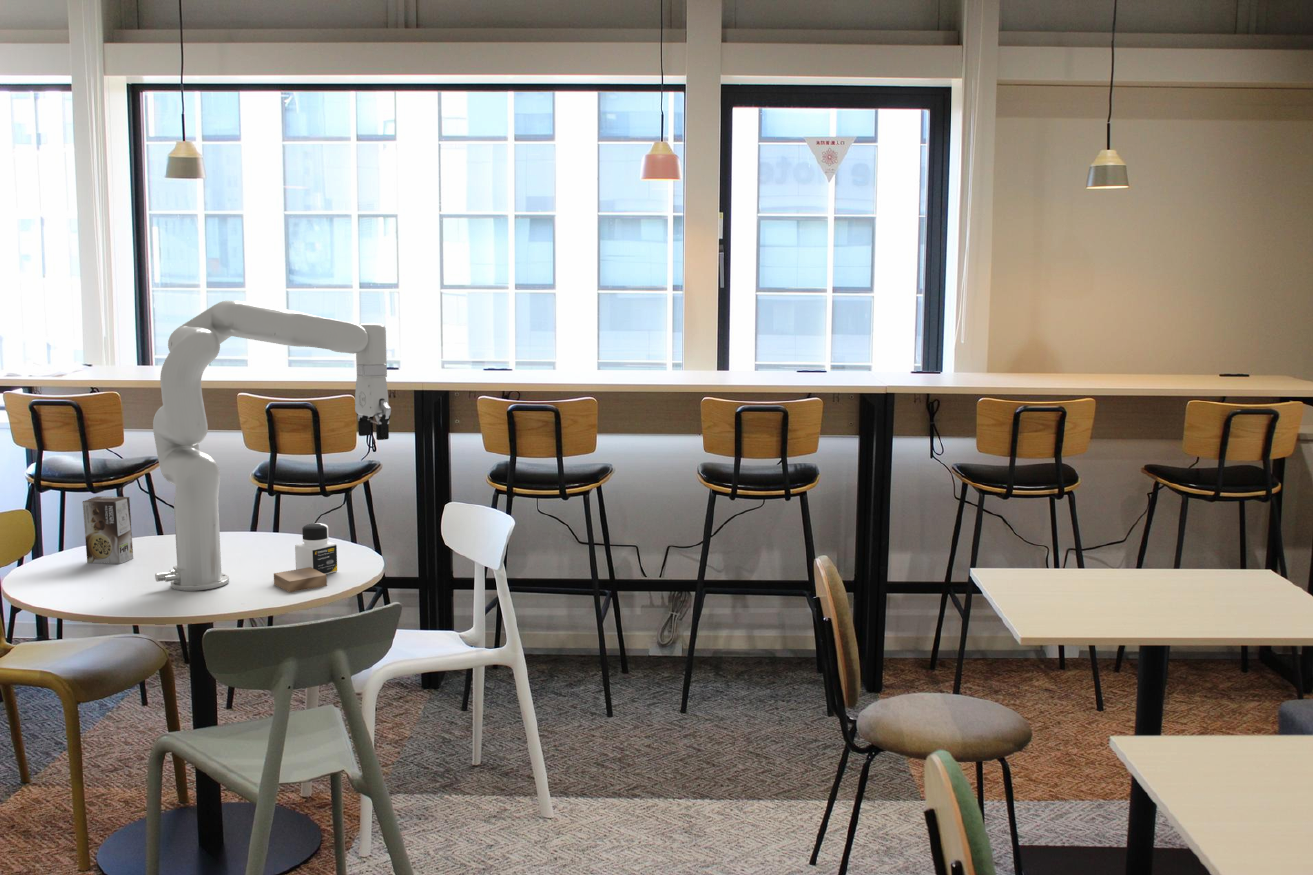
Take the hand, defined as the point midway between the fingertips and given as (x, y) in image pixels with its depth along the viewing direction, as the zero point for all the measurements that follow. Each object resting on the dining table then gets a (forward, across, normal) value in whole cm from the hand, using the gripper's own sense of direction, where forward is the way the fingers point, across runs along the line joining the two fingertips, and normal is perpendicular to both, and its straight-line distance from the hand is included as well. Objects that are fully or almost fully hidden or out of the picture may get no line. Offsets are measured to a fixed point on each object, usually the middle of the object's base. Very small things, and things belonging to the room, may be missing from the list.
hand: (373, 437), depth 279 cm
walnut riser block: (+32, +15, -27) cm, 44 cm away
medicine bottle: (+31, +6, -20) cm, 37 cm away
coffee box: (+31, -38, -54) cm, 73 cm away
